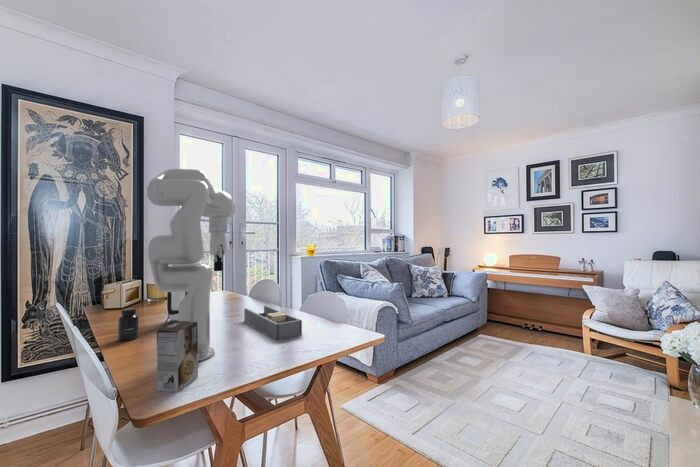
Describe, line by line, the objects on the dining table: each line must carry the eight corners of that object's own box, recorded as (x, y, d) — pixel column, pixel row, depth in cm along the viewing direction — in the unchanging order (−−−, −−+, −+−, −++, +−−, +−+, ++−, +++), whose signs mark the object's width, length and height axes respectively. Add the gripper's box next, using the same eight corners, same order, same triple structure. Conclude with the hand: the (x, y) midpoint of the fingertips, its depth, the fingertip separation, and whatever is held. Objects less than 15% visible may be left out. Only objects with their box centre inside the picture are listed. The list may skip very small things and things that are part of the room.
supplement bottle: (126, 342, 125) (126, 311, 125) (113, 340, 127) (113, 310, 127) (142, 337, 131) (142, 307, 131) (130, 335, 133) (130, 306, 134)
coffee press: (159, 321, 157) (159, 260, 158) (194, 315, 168) (193, 258, 168) (167, 328, 144) (167, 261, 145) (204, 322, 155) (204, 259, 155)
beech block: (285, 323, 141) (285, 314, 141) (272, 325, 137) (272, 316, 137) (279, 320, 145) (279, 312, 146) (267, 323, 142) (267, 314, 142)
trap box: (301, 334, 132) (301, 320, 133) (276, 339, 126) (276, 324, 126) (265, 317, 163) (265, 305, 163) (244, 320, 156) (244, 308, 156)
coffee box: (177, 376, 93) (177, 320, 93) (198, 377, 92) (198, 321, 93) (155, 391, 84) (155, 329, 84) (178, 392, 83) (178, 330, 83)
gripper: (205, 230, 147) (205, 270, 147) (212, 229, 135) (212, 272, 135) (222, 230, 152) (222, 269, 151) (231, 229, 139) (231, 271, 139)
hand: (218, 270), depth 143 cm, fingers closed
